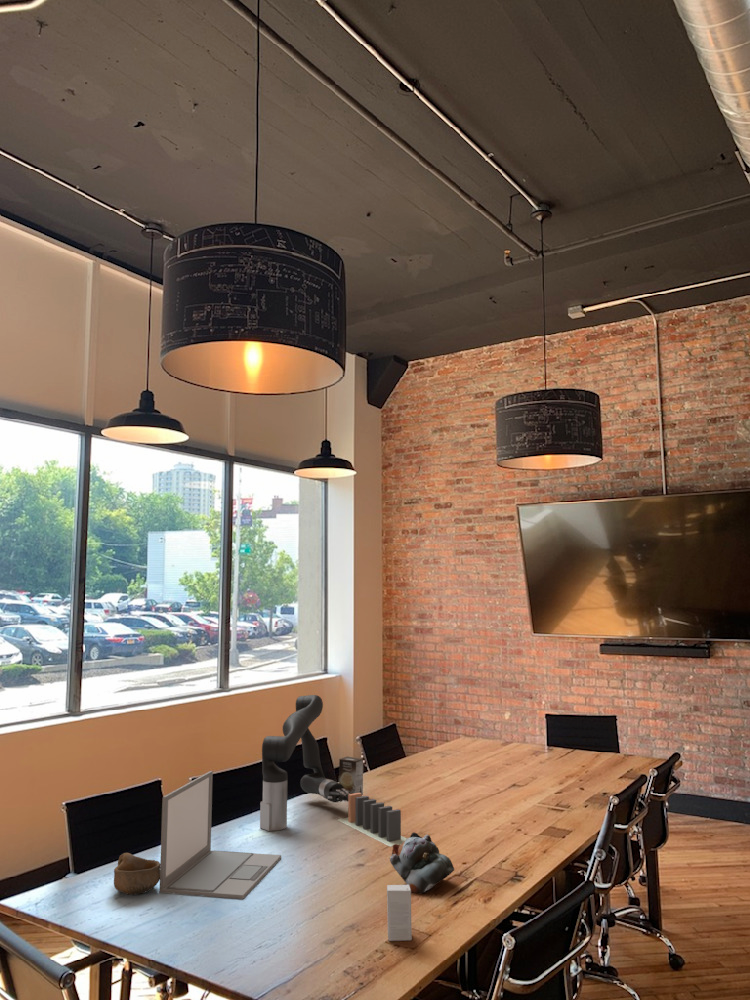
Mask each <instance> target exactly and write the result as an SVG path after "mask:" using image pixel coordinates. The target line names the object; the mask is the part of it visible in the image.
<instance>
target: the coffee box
mask: <svg viewBox="0 0 750 1000" xmlns="http://www.w3.org/2000/svg"><path fill="white" fill-rule="evenodd" d="M338 764H339V769H338V772H339V773H338V774H339V775H338V777H339V778H338V779H339V780H338V783H340V784H342V785H343V787H344V789H346V790H349V792H351V790H353V789H354V790H355V793H361V794H362V795H363V796H364V758H358V757H353V756H344V757H342V758H341V757H340V758H339V763H338Z"/></svg>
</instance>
